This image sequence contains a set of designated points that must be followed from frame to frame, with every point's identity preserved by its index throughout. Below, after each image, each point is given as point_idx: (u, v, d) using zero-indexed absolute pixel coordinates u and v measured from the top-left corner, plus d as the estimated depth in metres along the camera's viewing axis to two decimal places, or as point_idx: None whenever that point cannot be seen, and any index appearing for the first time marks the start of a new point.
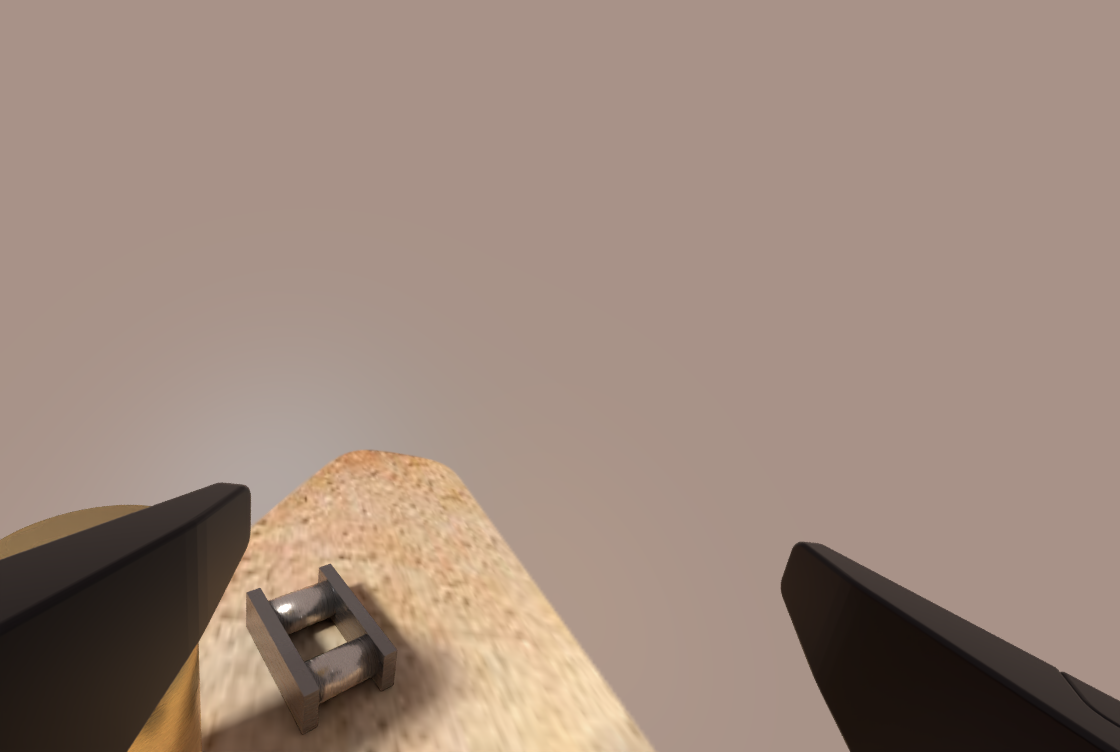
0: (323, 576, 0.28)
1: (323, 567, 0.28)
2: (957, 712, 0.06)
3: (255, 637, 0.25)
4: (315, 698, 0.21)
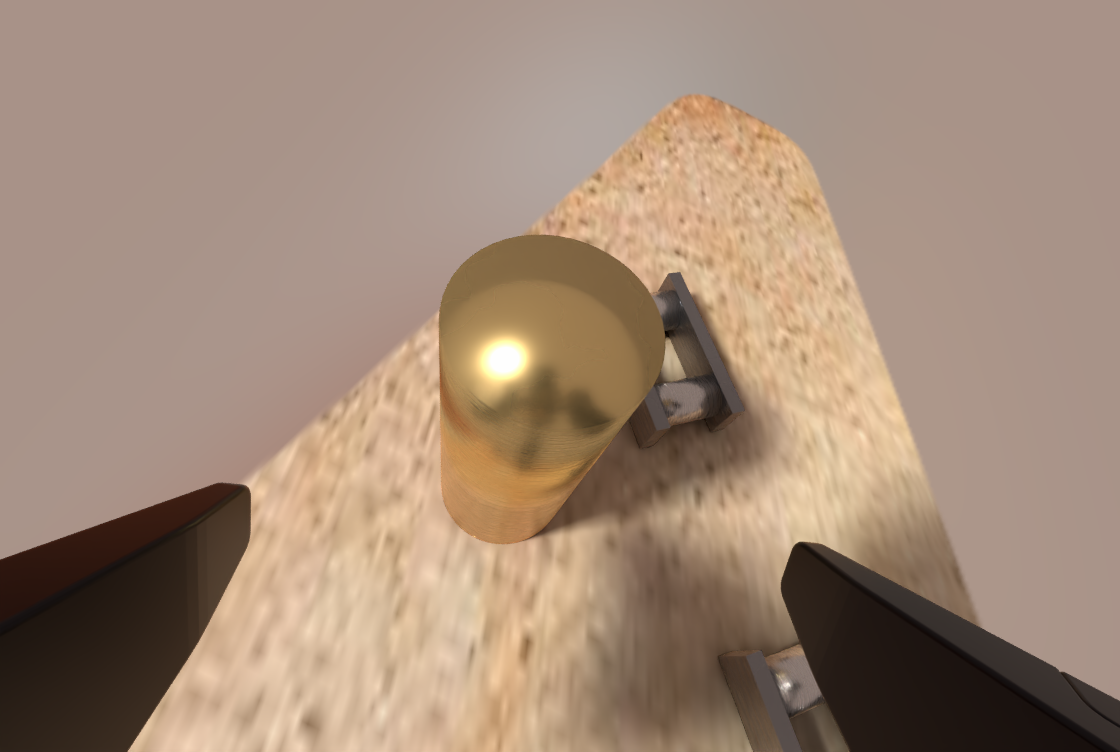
0: (671, 286, 0.24)
1: (672, 274, 0.24)
2: (957, 712, 0.06)
3: None
4: (663, 432, 0.21)
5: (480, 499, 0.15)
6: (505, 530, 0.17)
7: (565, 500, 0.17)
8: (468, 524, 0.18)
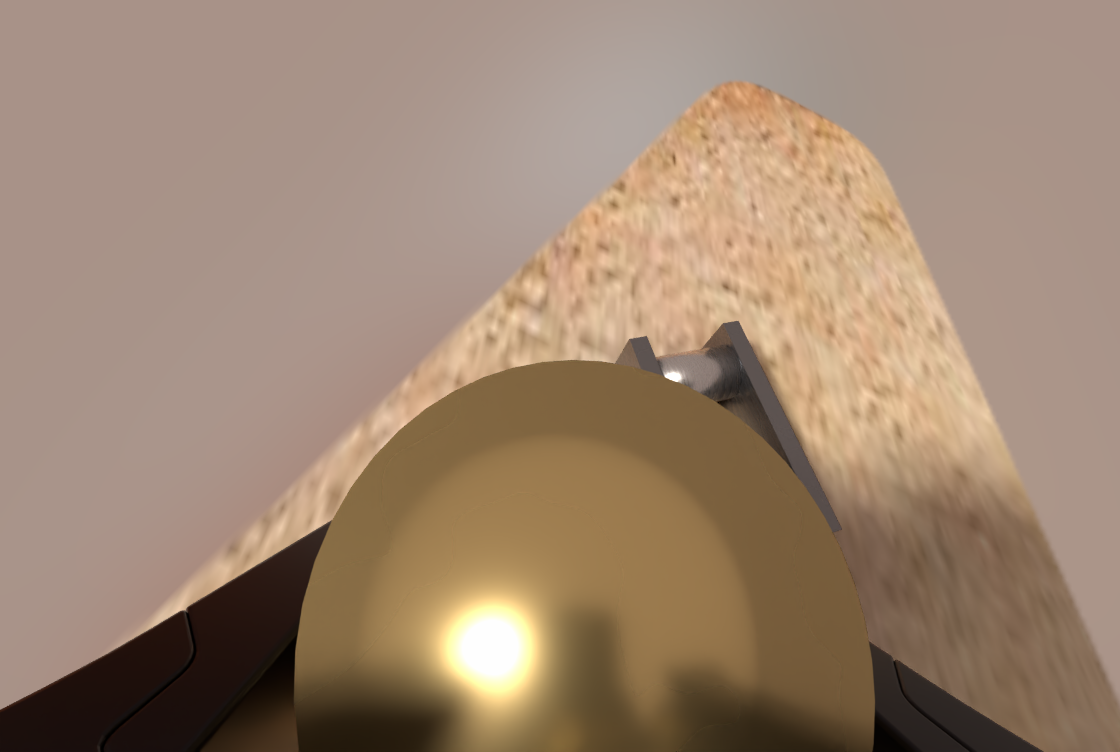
0: (727, 340, 0.17)
1: (728, 324, 0.18)
2: None
3: None
4: None
5: None
6: None
7: None
8: None
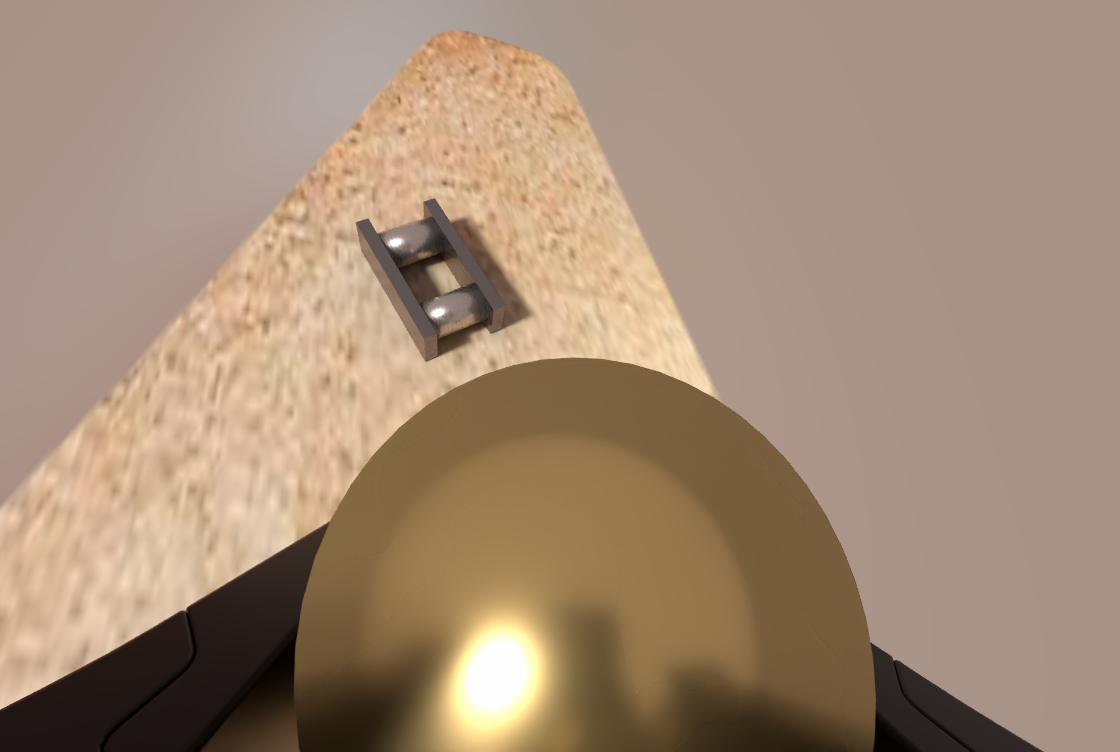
0: (428, 212, 0.26)
1: (427, 201, 0.26)
2: None
3: (371, 265, 0.26)
4: (433, 339, 0.23)
5: None
6: None
7: None
8: None
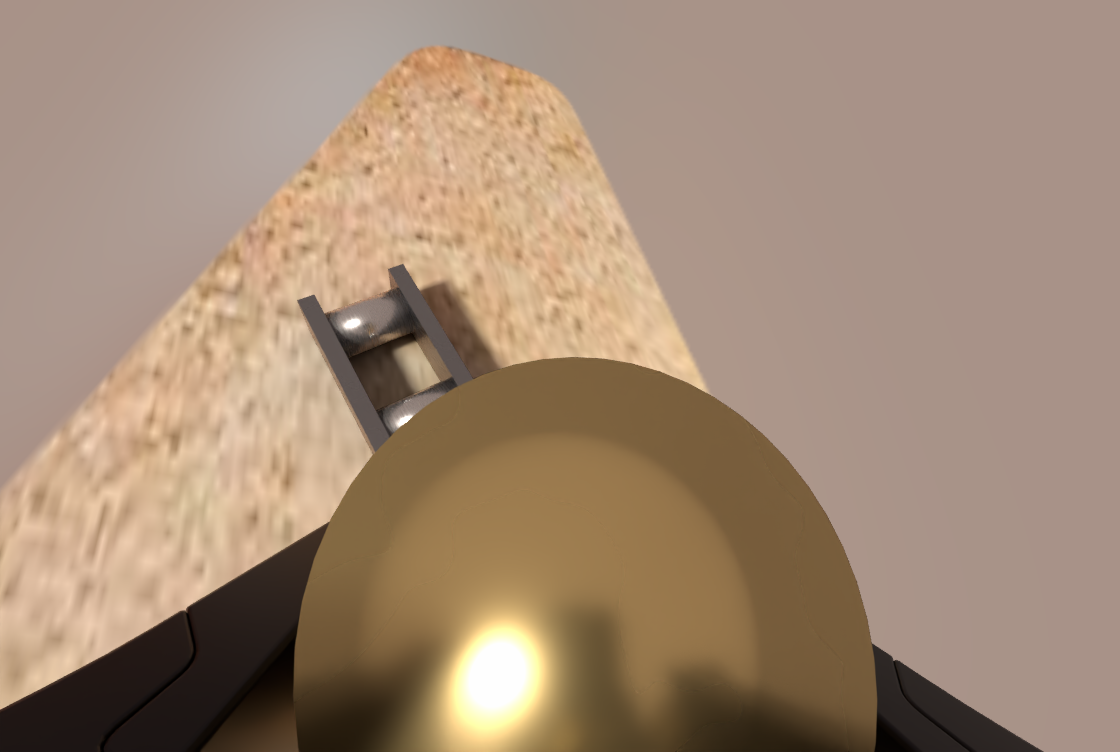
0: (395, 282, 0.20)
1: (393, 268, 0.20)
2: None
3: (321, 352, 0.20)
4: None
5: None
6: None
7: None
8: None
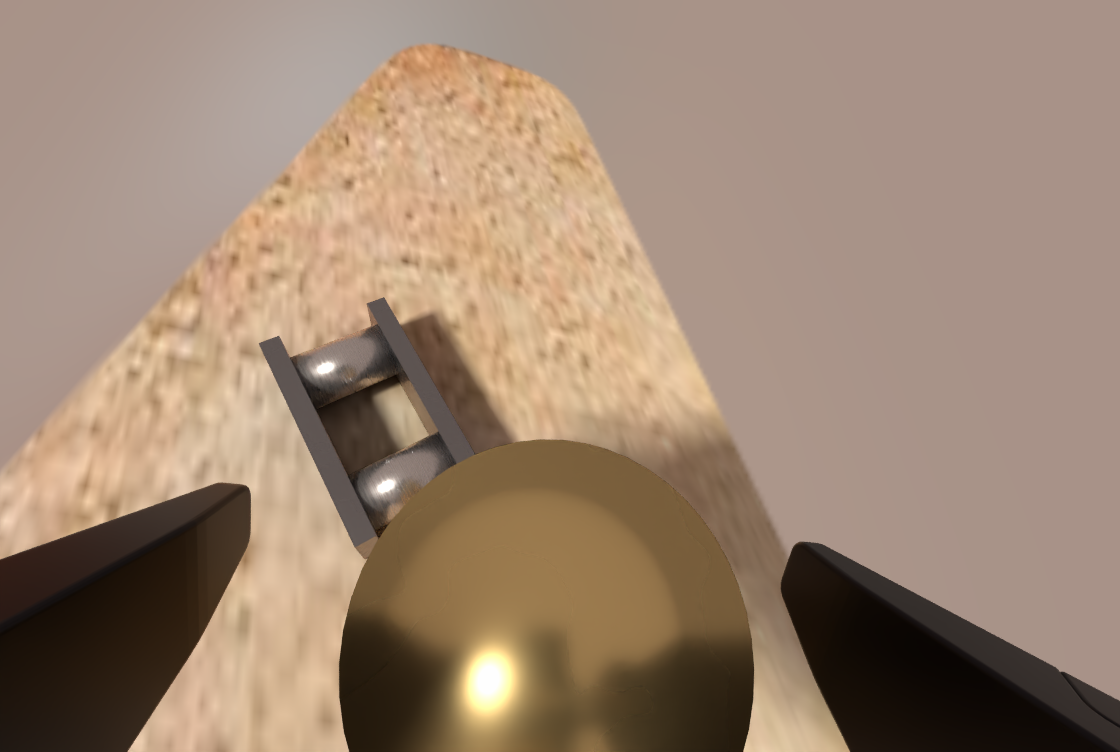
0: (374, 319, 0.18)
1: (372, 303, 0.18)
2: (957, 712, 0.06)
3: None
4: (373, 541, 0.15)
5: None
6: None
7: None
8: None
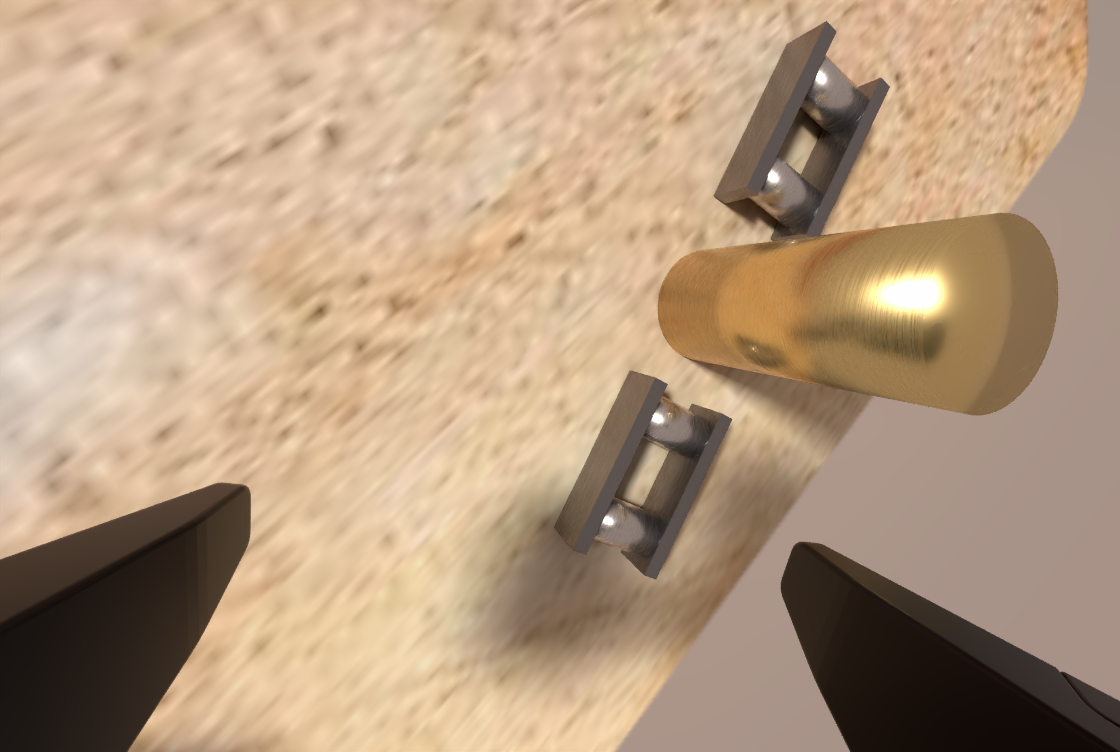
0: (870, 91, 0.22)
1: (882, 81, 0.21)
2: (957, 712, 0.06)
3: (779, 69, 0.22)
4: (747, 195, 0.20)
5: (740, 314, 0.17)
6: (696, 337, 0.20)
7: (749, 370, 0.19)
8: (676, 304, 0.20)
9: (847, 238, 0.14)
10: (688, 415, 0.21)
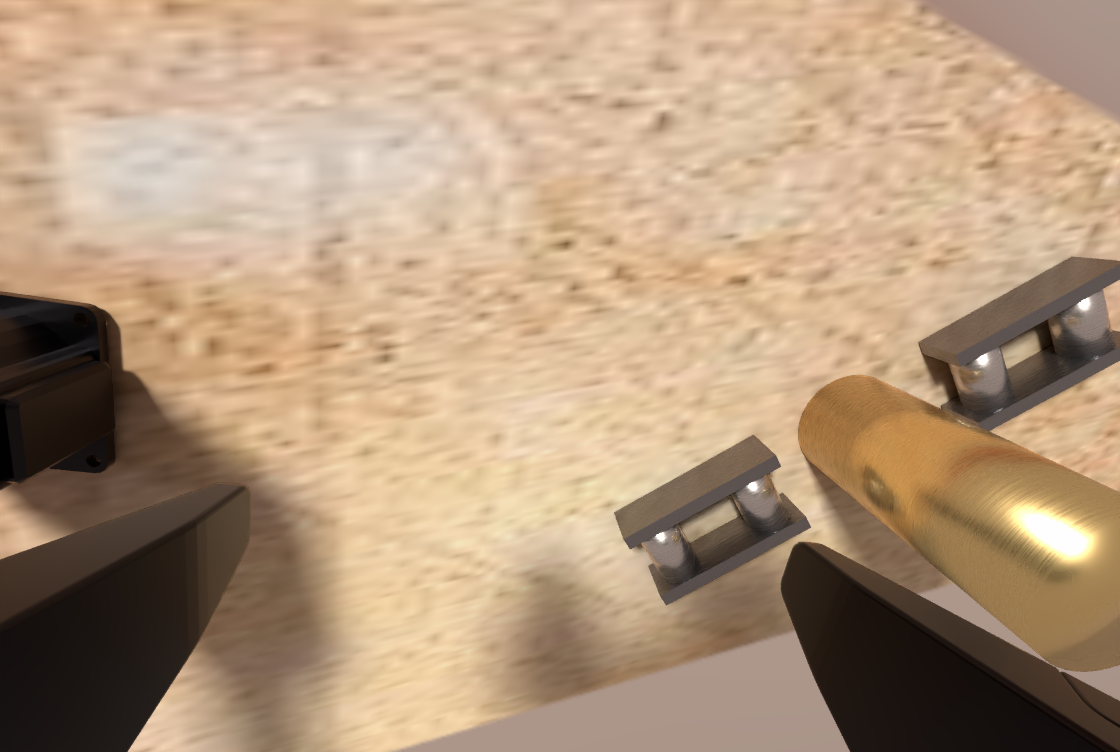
0: None
1: None
2: (957, 712, 0.06)
3: (1051, 274, 0.22)
4: (951, 361, 0.21)
5: (888, 454, 0.18)
6: (830, 446, 0.21)
7: (856, 500, 0.21)
8: (829, 409, 0.22)
9: (1028, 456, 0.16)
10: (778, 500, 0.23)
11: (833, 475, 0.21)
